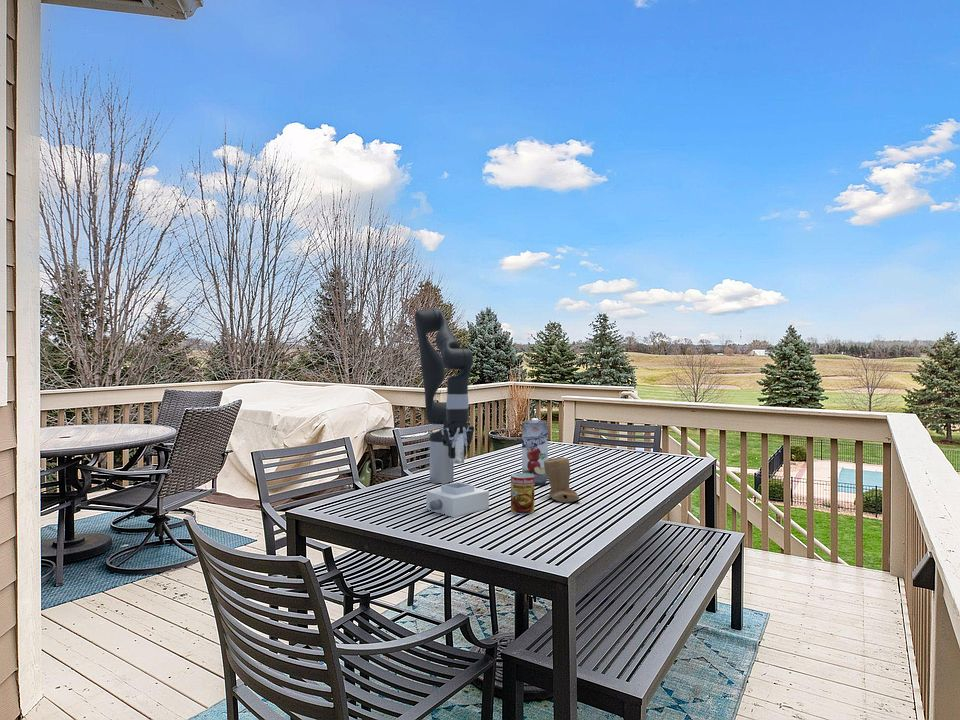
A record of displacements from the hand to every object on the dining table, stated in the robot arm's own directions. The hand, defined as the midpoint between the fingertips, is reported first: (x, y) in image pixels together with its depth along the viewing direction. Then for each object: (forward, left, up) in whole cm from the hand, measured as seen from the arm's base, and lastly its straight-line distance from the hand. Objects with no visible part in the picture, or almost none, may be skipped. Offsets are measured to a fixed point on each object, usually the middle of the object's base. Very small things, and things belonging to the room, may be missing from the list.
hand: (457, 457), depth 192 cm
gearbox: (+1, 0, -17) cm, 18 cm away
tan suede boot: (-37, +15, -18) cm, 44 cm away
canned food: (-14, +17, -18) cm, 28 cm away
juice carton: (-50, -9, -18) cm, 54 cm away
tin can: (0, 0, -2) cm, 2 cm away
